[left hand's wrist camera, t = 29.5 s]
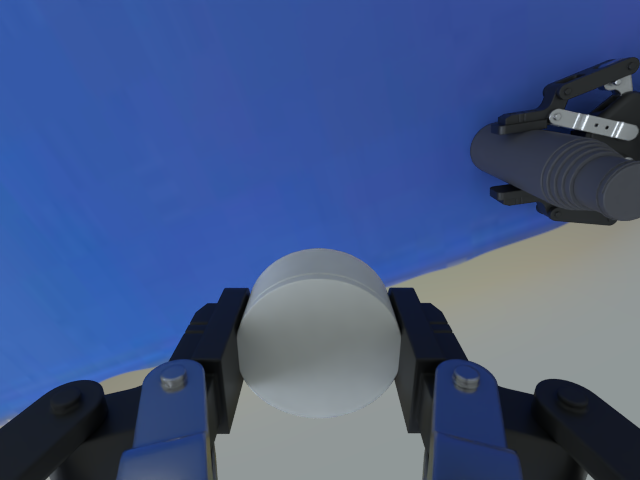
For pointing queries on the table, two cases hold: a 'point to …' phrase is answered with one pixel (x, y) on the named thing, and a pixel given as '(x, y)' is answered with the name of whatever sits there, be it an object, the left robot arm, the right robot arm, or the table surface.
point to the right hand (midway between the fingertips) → (494, 162)
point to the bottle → (562, 170)
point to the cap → (319, 335)
